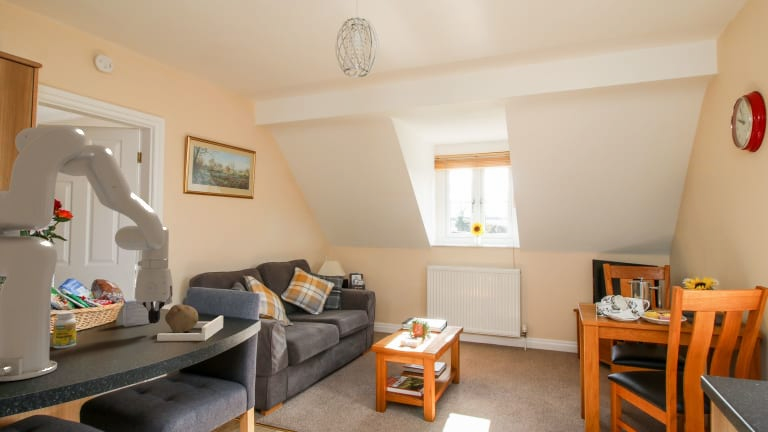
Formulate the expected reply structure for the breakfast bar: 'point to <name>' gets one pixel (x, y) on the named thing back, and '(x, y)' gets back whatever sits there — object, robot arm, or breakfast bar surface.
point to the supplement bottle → (64, 330)
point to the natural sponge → (181, 318)
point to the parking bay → (207, 332)
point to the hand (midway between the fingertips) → (154, 322)
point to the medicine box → (134, 313)
